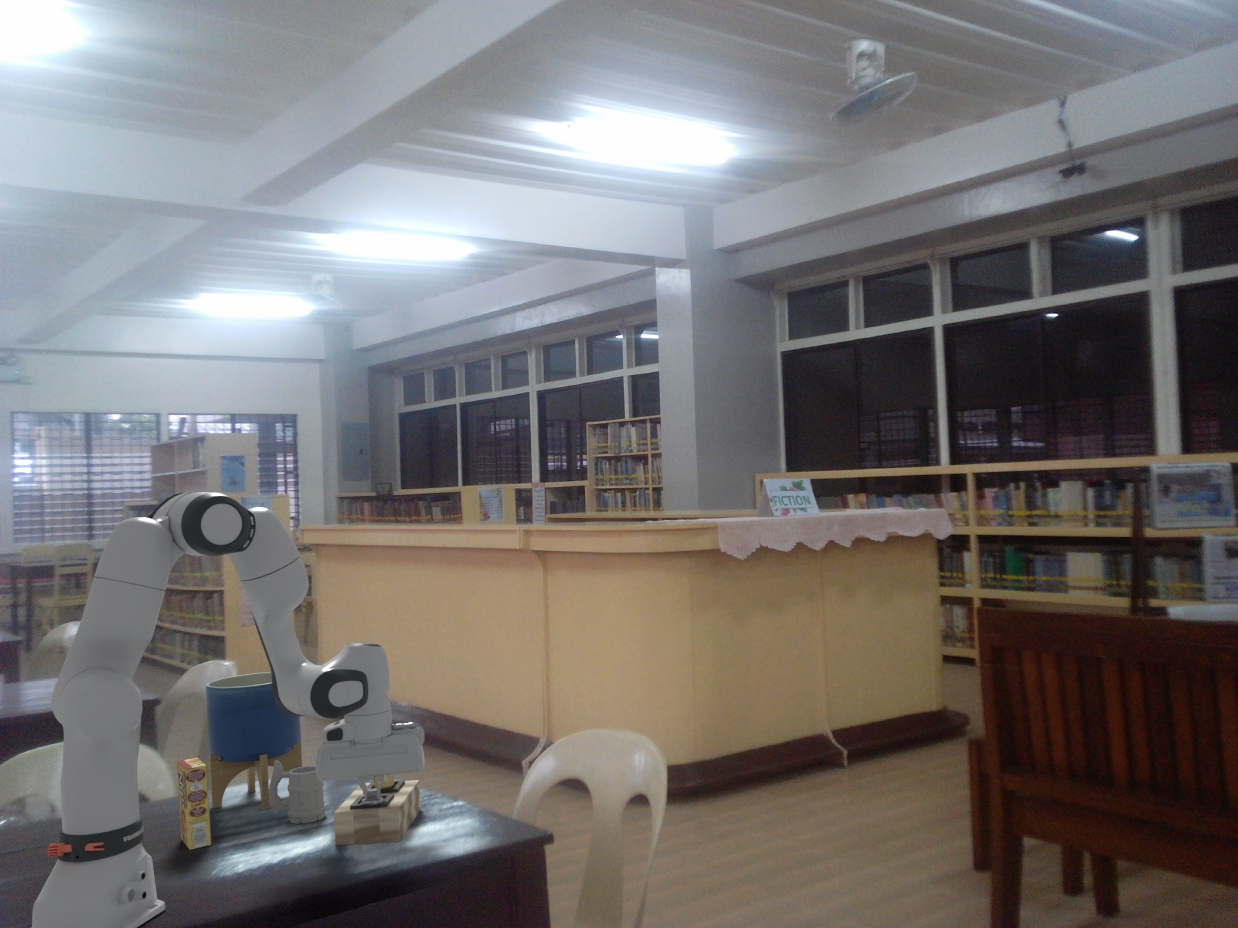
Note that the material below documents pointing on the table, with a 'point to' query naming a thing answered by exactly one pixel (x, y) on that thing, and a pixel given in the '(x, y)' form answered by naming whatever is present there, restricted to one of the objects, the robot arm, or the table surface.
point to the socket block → (377, 815)
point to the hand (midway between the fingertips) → (372, 798)
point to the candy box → (193, 803)
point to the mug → (298, 794)
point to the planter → (248, 733)
